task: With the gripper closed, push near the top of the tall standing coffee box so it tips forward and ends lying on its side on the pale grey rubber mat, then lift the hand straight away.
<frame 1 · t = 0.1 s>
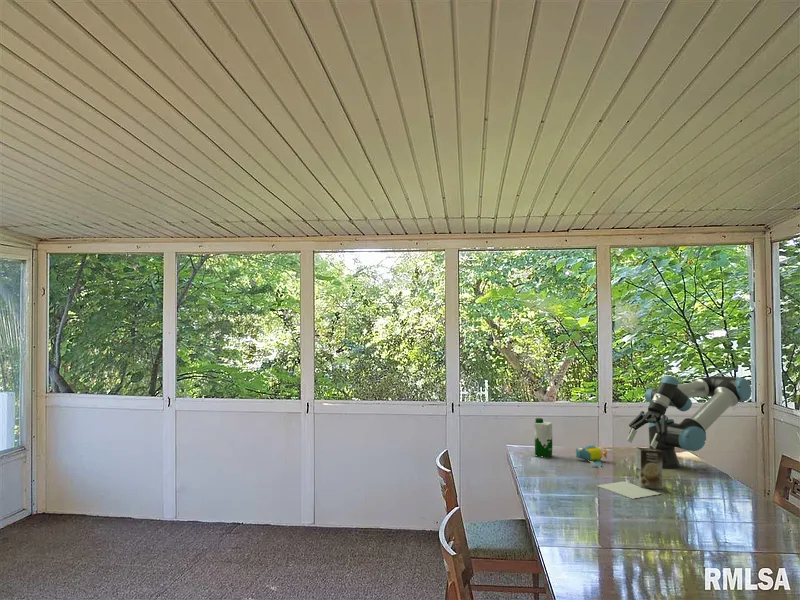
hand: (640, 444, 251), 15 cm above the table, tool tilted 35°, fingers open, 13 cm apart
milk carton: (543, 456, 294), on the table
coffee box: (648, 487, 235), on the table, touching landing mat
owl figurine: (591, 462, 283), on the table
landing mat: (628, 490, 231), on the table
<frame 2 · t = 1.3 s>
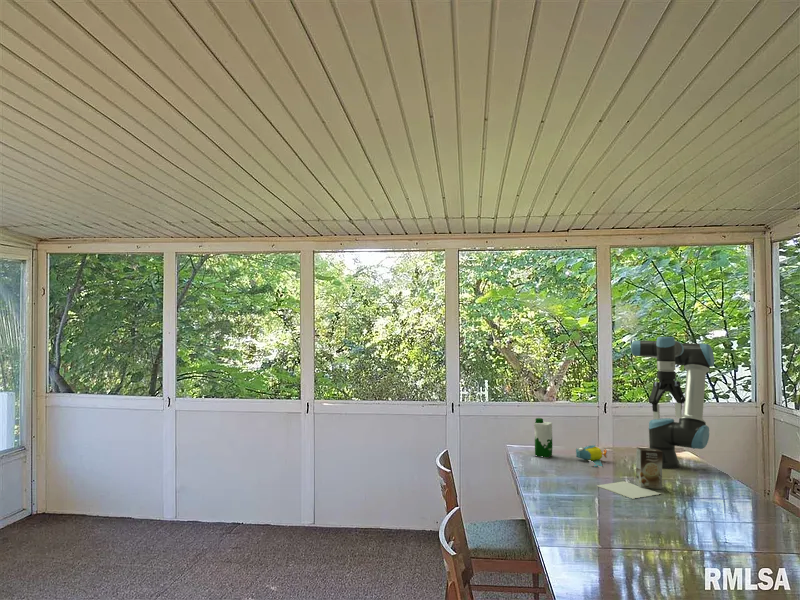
hand: (667, 418, 242), 29 cm above the table, tool pointing down, fingers open, 13 cm apart
nothing on the table moved.
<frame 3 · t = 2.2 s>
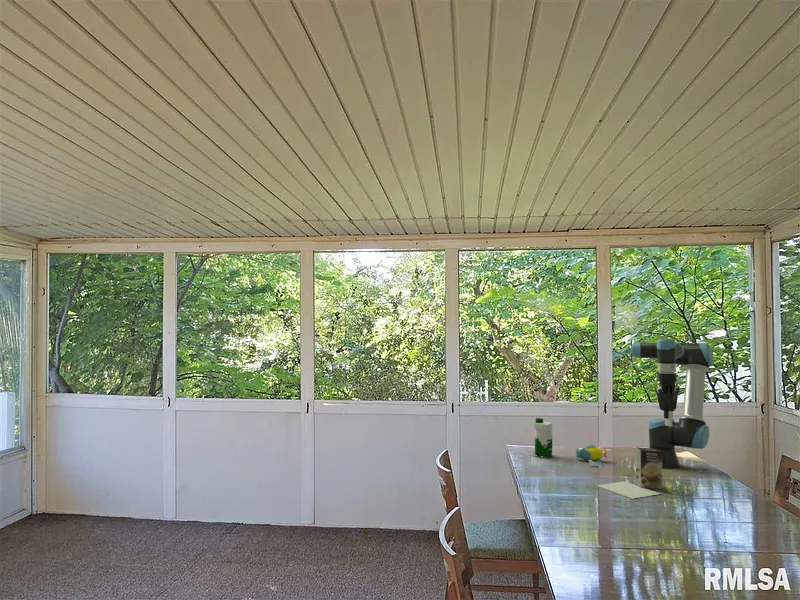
hand: (668, 425, 242), 26 cm above the table, tool pointing down, fingers closed
nothing on the table moved.
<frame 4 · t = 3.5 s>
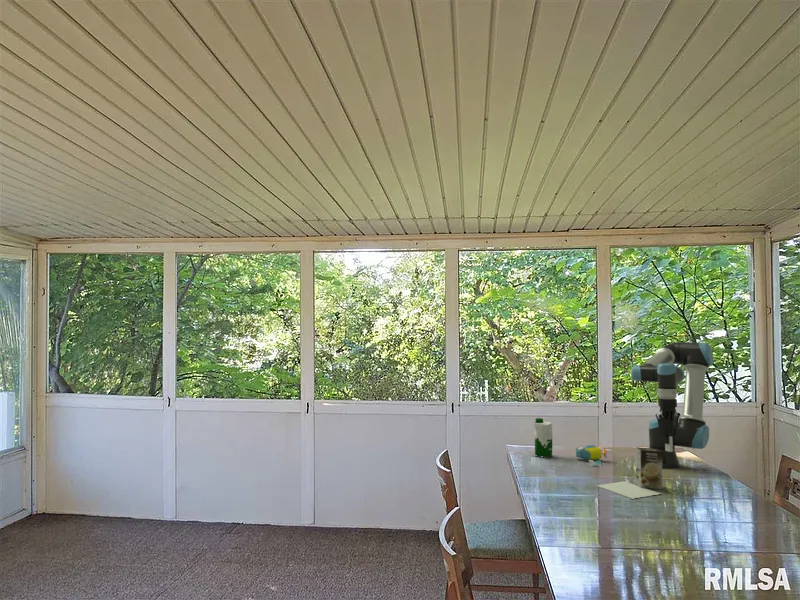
hand: (669, 451, 241), 14 cm above the table, tool pointing down, fingers closed
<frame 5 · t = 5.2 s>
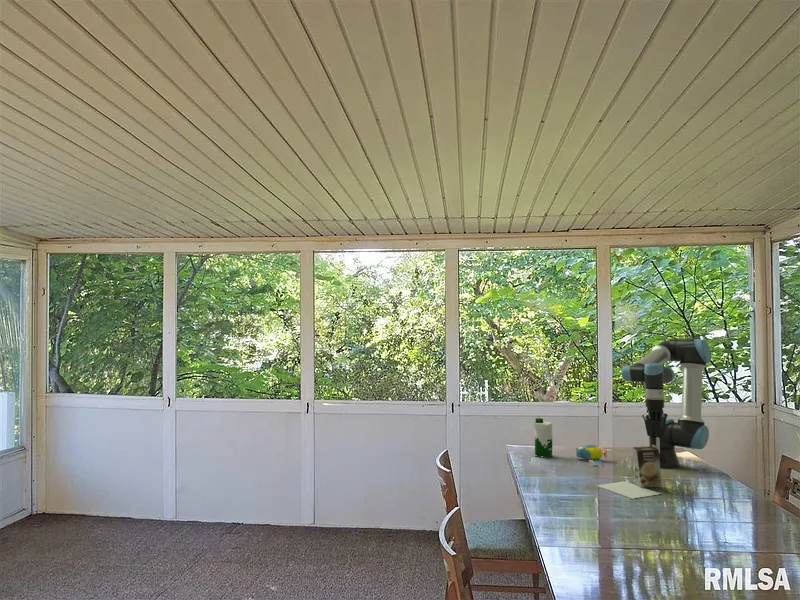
hand: (656, 452, 238), 15 cm above the table, tool pointing down, fingers closed
coffee box: (648, 485, 235), point 1 cm above the table, touching gripper, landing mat
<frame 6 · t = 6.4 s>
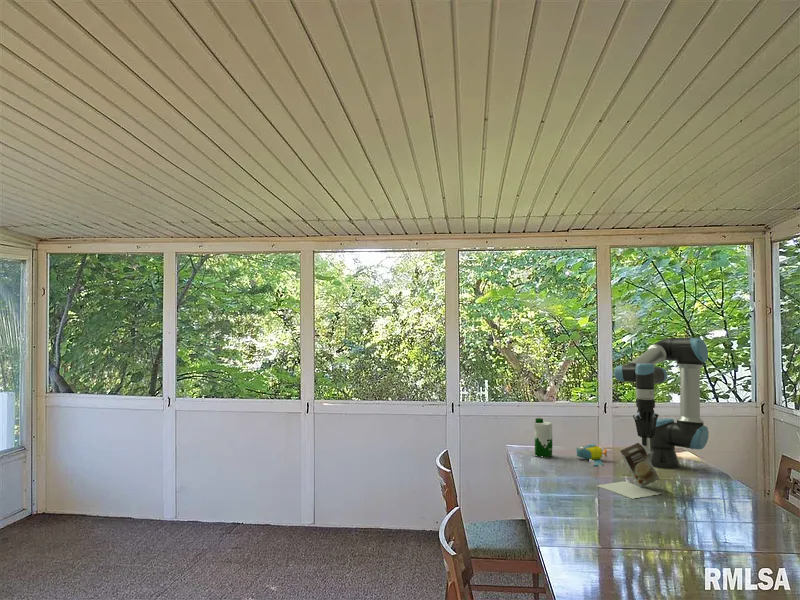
hand: (646, 452, 236), 15 cm above the table, tool pointing down, fingers closed
coffee box: (647, 480, 235), point 3 cm above the table, touching gripper, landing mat
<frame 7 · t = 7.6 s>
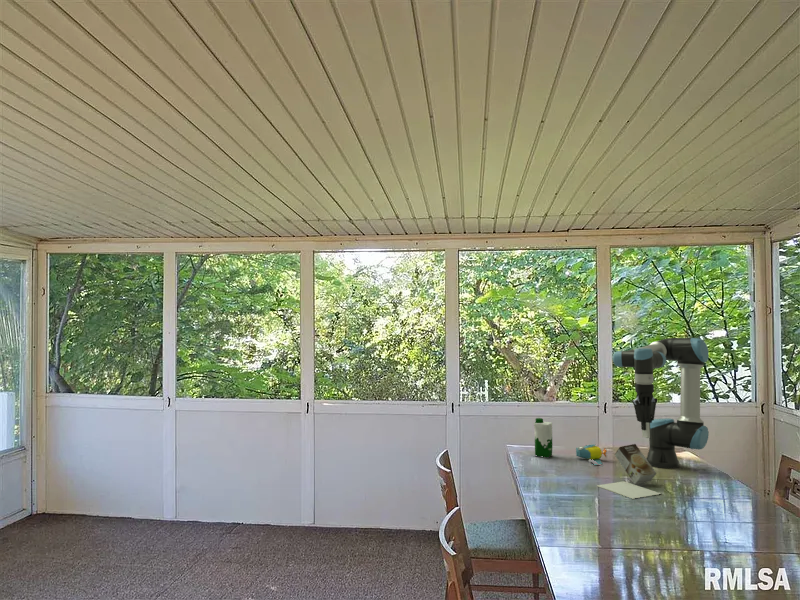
hand: (646, 437, 236), 22 cm above the table, tool pointing down, fingers closed
coffee box: (646, 479, 238), point 3 cm above the table
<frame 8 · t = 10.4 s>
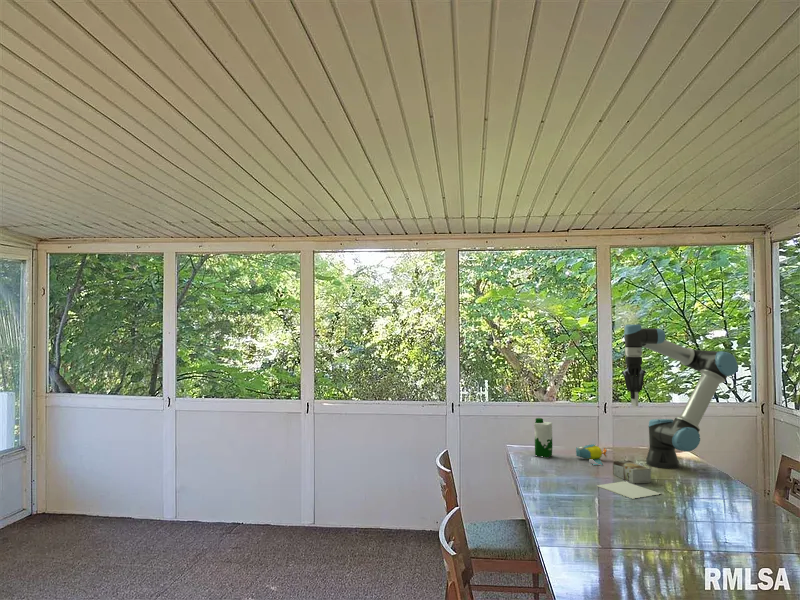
hand: (634, 405, 258), 32 cm above the table, tool pointing down, fingers closed
coffee box: (642, 476, 241), point 3 cm above the table
at the end: coffee box tilted 90°; coffee box inside the target area (11.9 cm from its centre), point 3.2 cm above the table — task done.
